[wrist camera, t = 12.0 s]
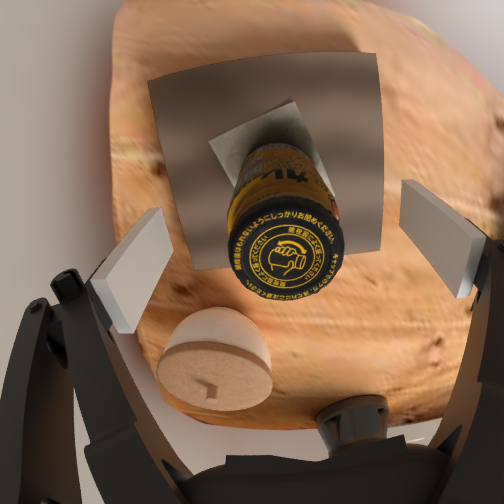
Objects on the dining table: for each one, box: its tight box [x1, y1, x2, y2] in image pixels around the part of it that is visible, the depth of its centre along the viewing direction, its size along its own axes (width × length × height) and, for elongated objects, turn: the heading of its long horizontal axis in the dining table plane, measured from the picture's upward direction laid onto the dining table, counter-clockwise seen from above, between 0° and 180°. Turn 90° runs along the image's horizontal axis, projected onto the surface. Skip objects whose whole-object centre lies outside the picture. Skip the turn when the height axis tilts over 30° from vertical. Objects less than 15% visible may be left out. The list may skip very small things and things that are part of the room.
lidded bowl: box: [157, 306, 273, 411], centre depth 31 cm, size 13×13×11 cm
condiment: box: [209, 101, 345, 301], centre depth 17 cm, size 7×8×12 cm
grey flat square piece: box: [147, 52, 384, 271], centre depth 23 cm, size 18×18×3 cm
